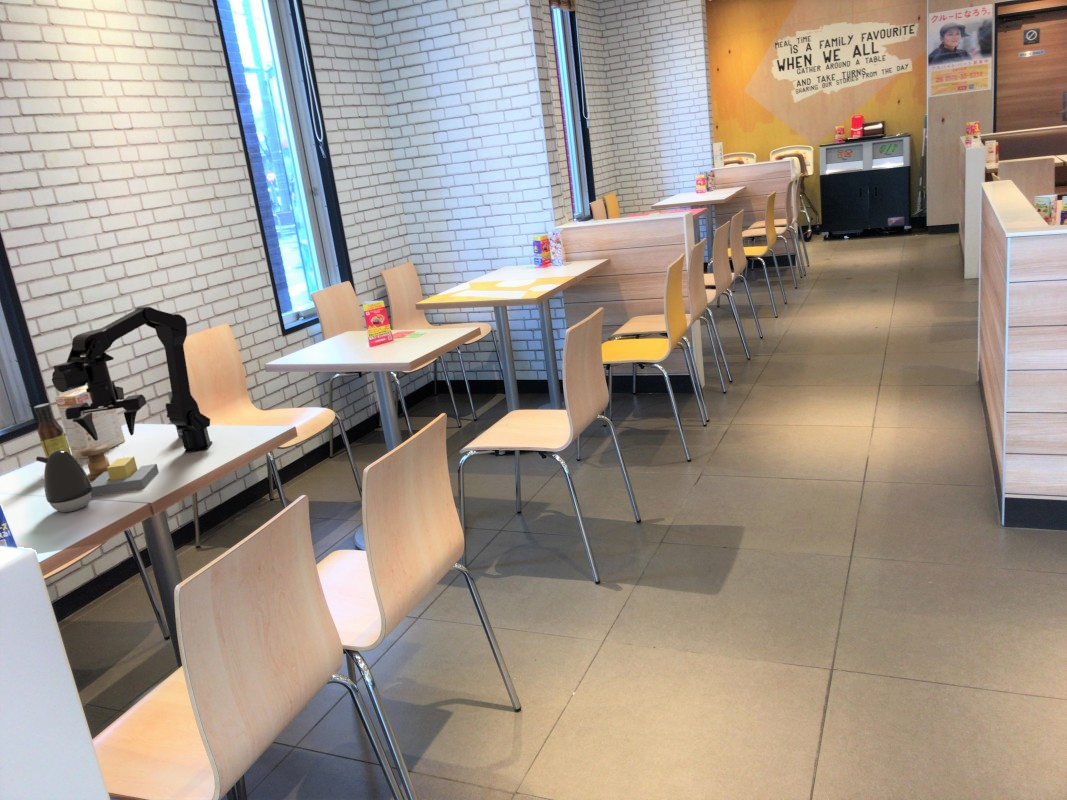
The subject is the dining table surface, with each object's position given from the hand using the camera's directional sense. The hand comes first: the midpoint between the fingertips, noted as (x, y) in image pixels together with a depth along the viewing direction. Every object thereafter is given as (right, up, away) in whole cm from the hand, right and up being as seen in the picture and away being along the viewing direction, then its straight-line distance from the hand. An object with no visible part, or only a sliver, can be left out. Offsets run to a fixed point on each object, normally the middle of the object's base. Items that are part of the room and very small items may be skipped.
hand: (114, 437), depth 223 cm
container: (+3, -1, +38) cm, 38 cm away
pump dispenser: (-3, -17, -13) cm, 22 cm away
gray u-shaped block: (+3, -12, 0) cm, 13 cm away
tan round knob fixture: (-8, -11, +9) cm, 17 cm away
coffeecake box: (-22, -6, +35) cm, 42 cm away
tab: (+3, -12, +1) cm, 13 cm away
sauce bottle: (-24, -11, +19) cm, 32 cm away
